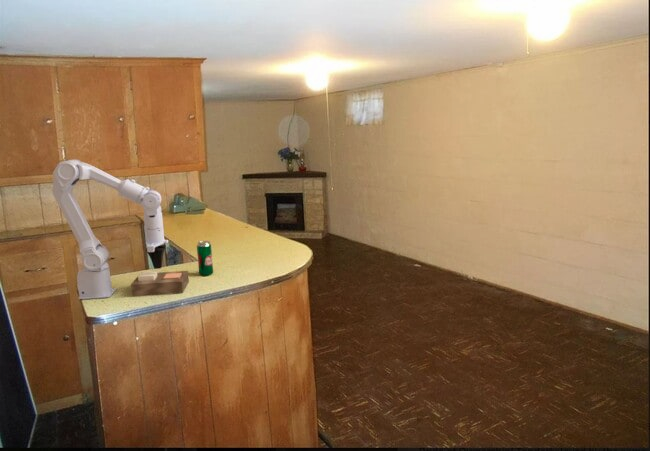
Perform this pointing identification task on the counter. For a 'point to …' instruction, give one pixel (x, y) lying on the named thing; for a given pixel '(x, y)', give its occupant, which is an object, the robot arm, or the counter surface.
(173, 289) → the key console
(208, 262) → the soda can
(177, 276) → the terracotta key
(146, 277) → the offwhite key
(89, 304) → the counter surface
